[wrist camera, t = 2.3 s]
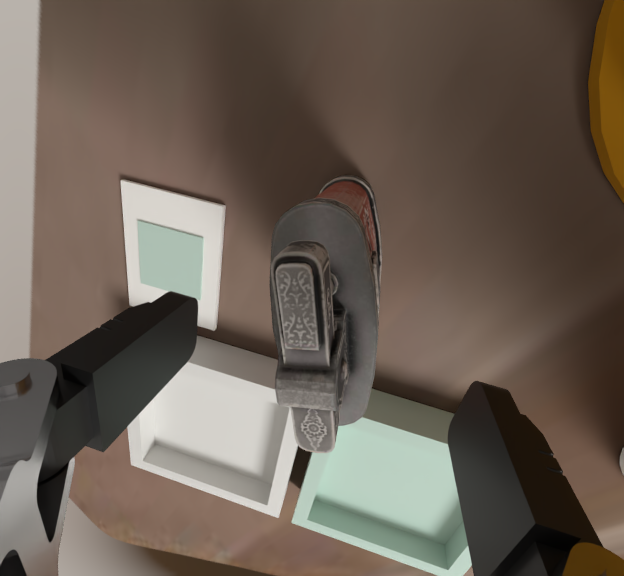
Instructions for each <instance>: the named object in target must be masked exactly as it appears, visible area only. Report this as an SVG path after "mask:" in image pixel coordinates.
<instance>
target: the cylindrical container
mask: <svg viewBox="0 0 624 576" xmlns="http://www.w3.org/2000/svg"><path fill="white" fill-rule="evenodd" d="M620 468H621V471H622V473H623V475H624V447H623V449H622V452H621V455H620Z"/></svg>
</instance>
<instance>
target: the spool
mask: <svg viewBox="0 0 624 576" xmlns="http://www.w3.org/2000/svg"><path fill="white" fill-rule="evenodd" d="M588 91H589V108H590V126H591V134H592V137H593V140H594V143H595V147H596V150H597V153H598V156H599V159H600V163H601V166H602V169H603V172H604V174H605V176H606V177H607V179H608V180H609V182H610V183H611V185H612V186H613V188H614V189H615V191H616V193H617V194H618V196H619V197H620V199H621V200H622V202H623V203H624V0H604V3H603V6H602V10H601V13H600V16H599V19H598V22H597V25H596V32H595V39H594V45H593V52H592V59H591V65H590V72H589V79H588Z"/></svg>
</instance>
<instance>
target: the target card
mask: <svg viewBox="0 0 624 576" xmlns="http://www.w3.org/2000/svg"><path fill="white" fill-rule="evenodd" d="M121 194H122V207H123V221H124V235H125V249H126V263H127V277H128V291H129V304H130V305H131V306H137V305H140V304H143V303H146V302H150V303H152V302H153V301H155V300H156V299H158V298H159V297H161V296H162V295H164V294H165V293H167V292H169V291H173V292H177V293H180V294H183V295H187V296H190V297H194V298H196V299H197V301H198V323H197V326H200V327H203V328H207V329H210V330H213V331H215V330H216V329H217V318H218V304H219V291H220V277H221V264H222V250H223V237H224V223H225V209H226V205H222V204H218V203H214V202H210V201H207V200H203V199H199V198H195V197H191V196H187V195H183V194H179V193H175V192H171V191H168V190H164V189H160V188H156V187H152V186H148V185H144V184H140V183H136V182H133V181H129V180H125V179H124V180H121Z"/></svg>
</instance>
